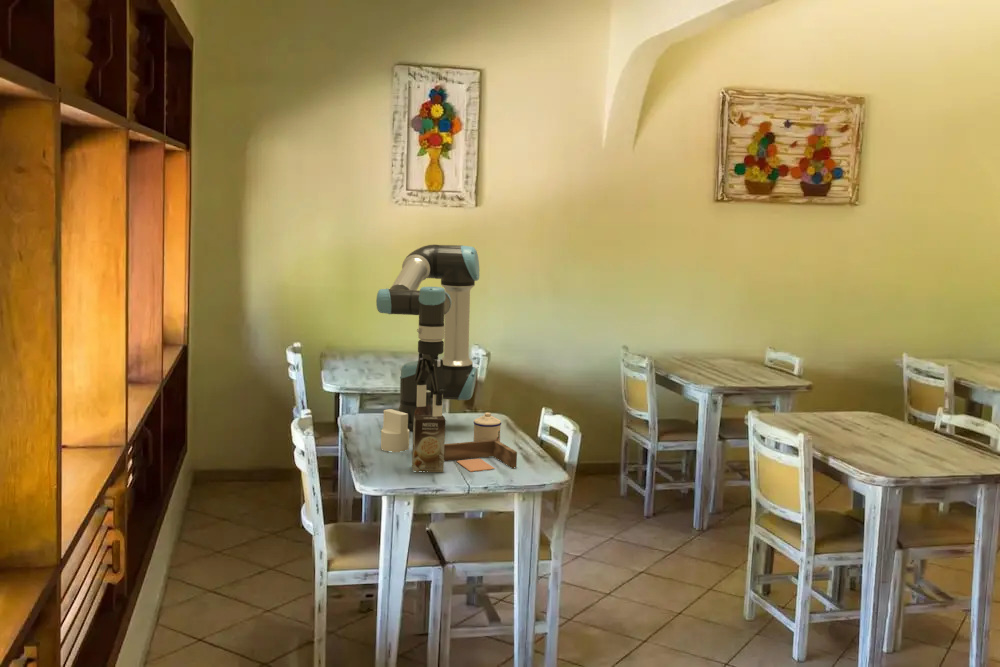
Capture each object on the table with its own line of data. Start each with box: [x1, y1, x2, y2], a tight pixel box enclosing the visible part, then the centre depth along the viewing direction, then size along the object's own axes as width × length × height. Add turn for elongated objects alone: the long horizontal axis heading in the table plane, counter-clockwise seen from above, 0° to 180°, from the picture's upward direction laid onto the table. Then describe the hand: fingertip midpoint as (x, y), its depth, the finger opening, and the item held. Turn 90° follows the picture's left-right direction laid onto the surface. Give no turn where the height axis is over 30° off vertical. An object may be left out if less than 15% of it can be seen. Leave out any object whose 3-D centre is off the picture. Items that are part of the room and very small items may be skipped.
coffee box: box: [411, 414, 446, 473], centre depth 263 cm, size 9×6×16 cm
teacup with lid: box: [473, 412, 502, 442], centre depth 291 cm, size 12×9×12 cm
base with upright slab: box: [380, 408, 410, 453], centre depth 285 cm, size 9×9×12 cm
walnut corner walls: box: [444, 440, 518, 469], centre depth 271 cm, size 15×18×5 cm
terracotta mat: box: [455, 458, 496, 473], centre depth 270 cm, size 11×8×1 cm
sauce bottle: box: [415, 390, 433, 415], centre depth 281 cm, size 6×6×20 cm
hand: (429, 411), depth 261 cm, fingers open, 13 cm apart
